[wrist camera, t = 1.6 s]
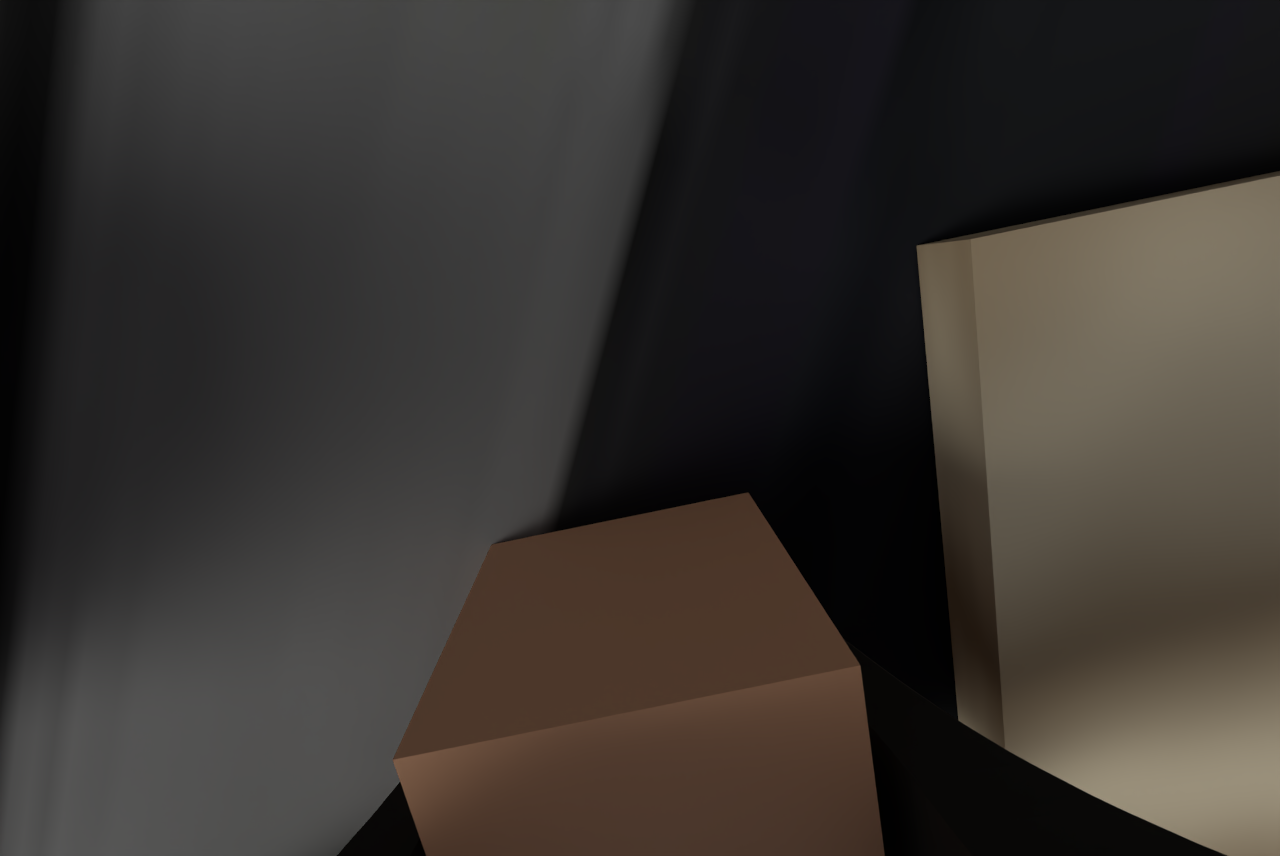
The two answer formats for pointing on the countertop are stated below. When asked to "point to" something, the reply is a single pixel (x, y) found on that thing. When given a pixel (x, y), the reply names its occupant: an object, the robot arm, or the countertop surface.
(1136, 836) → the robot arm
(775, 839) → the terracotta block
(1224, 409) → the birch board
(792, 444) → the countertop surface
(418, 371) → the countertop surface
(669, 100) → the countertop surface
